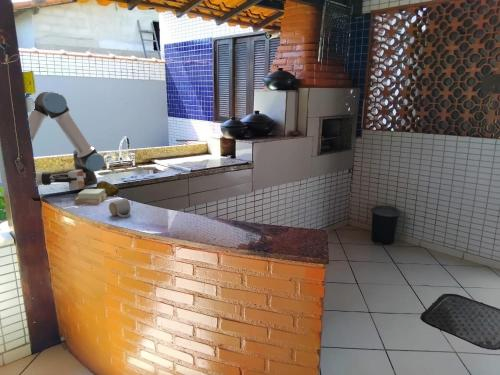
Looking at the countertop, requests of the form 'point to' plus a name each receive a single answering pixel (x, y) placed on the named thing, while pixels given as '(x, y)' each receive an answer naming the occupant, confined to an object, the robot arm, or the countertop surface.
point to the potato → (108, 188)
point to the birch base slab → (90, 200)
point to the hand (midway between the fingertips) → (84, 176)
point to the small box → (76, 183)
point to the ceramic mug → (120, 207)
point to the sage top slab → (91, 194)
